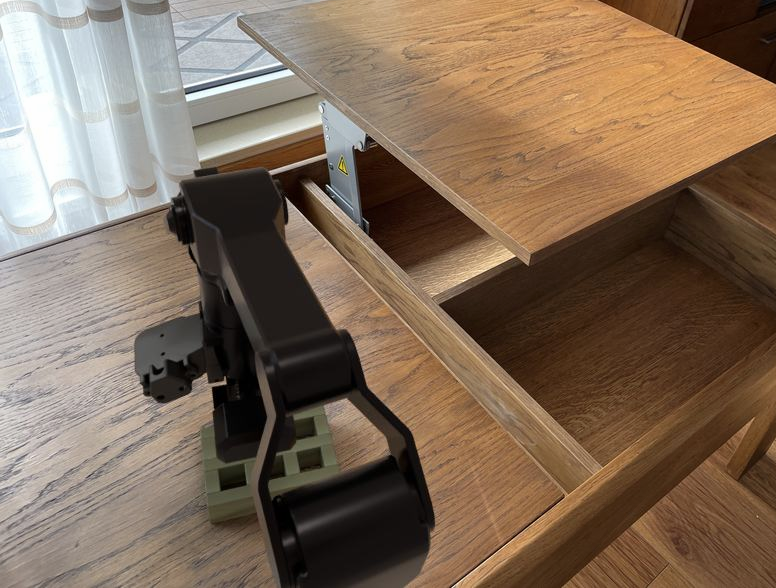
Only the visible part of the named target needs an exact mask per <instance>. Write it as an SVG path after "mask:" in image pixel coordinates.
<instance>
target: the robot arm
mask: <svg viewBox="0 0 776 588" xmlns="http://www.w3.org/2000/svg"><path fill="white" fill-rule="evenodd" d="M178 187H179V192H178V194H177V195H176V196H172V197H170V203H169V204H170V205H169V206H170V207H167V208H168V209H167V210H168V211H167V212H166V213H165V215H164V217H163V218H162V221H163V226H164V230H165V234H166V235H170V234H171V235H172V236H174V238H175V241H176V242H177V243H178V244H179V245H180V246H186V249H187V252H188V254H189V258H190V260H191V261H192V262H193V263H194V264H195V266H196V273H197V280H198V285H199V287H198V288H199V299H200V300H198V301H197V303H198V313H194V314H190V315H187V316H185V315H180V316H177V317H175V318H172V319H169V320H167V321H164V322H162V323H159V324H157V325H154V326H152V327H151V326H150V327H148V328H146V329H144V330H142V331H141V332H139V334H137V335H136V337H135V338H134V342H133V347H134V350H133V351H134V352H133V355H134V358H133V359H134V372H135V374H136V375H137V376H138V377H139V384H140V386H142V395H143V397H147V398H152V399H153V400H154V401H155V402H156V403H158V404H168V403H171V402H173V401H175V400H178V399H181V398H183V397H185V396H188V395H190V394H191V393H192V391H193V382H194V381H196V380H198V379H200V378H201V377H203V376H204V375H206V377H207V384H208V385H210V384H216V383H221V382H224V381H225V384H220V385H213V386H211V396H212V406H213V409H212V412H211V413H212V422H213V426H214V433H215V443H216V450H217V457H218V460H220V461H222V462H224V463H225V464H227V463H232V462H236V461H241V460H246V459H250V458H255V457H256V460H255V464H254V467H253V471H252V474H251V478H250V487H251V491H252V495H253V499H254V503H255V507H256V511H257V513H256V515H257V520H258V524H259V527H260V532H261V536H262V539H263V544H264V548H265V552H266V555H267V559H268V563H269V567H270V570H271V574H272V577H273V580H274V583H275V586H276V588H405V587H406V586H408V585H409V584H410V583H411V582H412V581H413V580H415V579H416V578H417V577H418V576H419V575H420V574H421V572H422V570H423V567H424V565H425V564H426V563H425V562H426V561H427V558H428V556H429V553H430V550H431V545H432V543H431V541H432V537H431V533H432V532H435V528H436V515H435V510H434V505H433V502H432V498H431V494H430V491H429V487H428V484H427V480H426V477H425V472H424V470H423V466H422V462H421V458H420V455H419V451H418V448H417V444H416V441H415V438H414V435H413V433H412V431H411V430H410V429H411V428H409V427H408V426H407V425H406V424H405V423H404V422H403V421H402V420H401V418H399V417H398V416H397V415H396V414H395V413H394V412H393V411H392V410H391V409H390V407H388V406H387V405H386V404H385V403H384V402H383V401H382V400H381V399H380V398H379V397H378V396H377V395H376V394H375V393H374V392H373V391H372V390H371V389H370V387H368V384H367V381H366V376H365V374H364V370H363V366H362V362H361V359H360V355H359V352H358V349H357V346H356V343H355V341H354V339H353V336H352V335H351V334H350V332H349V331H348V330H347V328H339V329H337V328H336V327H335V325H334V324H333V321H332V320H331V319H330V317H329V315H328V313H327V311H326V310H325V308H324V306H323V305H322V303H321V301H320V299H319V298H318V295H317V294H316V292H315V290H314V289H313V287H312V285H311V284H310V281H309V280H308V278H307V276H306V275H305V272H304V271H303V269H302V268H301V266H300V264H299V262H298V261H297V258H296V257H295V255H294V254H293V252H292V250H291V249H290V247H289V245H288V243H287V237H286V226H288V224H289V219H290V218H289V208H288V201H287V196H286V194H285V190H284V188H283V185H282V183H281V181H280V180H279V179H273V177H272V175H271V173H270V171H269V170H268V169H267V168H265V167H264V166H261V167H253V168H248V169H241V170H234V171H230V172H224V173H223V172H222V173H220V172H219V170H218V167H217V166H211V167H205V168H200V169H199V168H198V169H194V170H193V177H192V178H186V179H185V178H184V179H180V180H179V182H178ZM346 399H347V400H348V401H349V402H350V403H351V404H352V405H353V407H355V408H356V409H357V410H358V411H359V412H360V413H361V414H362V415H363V416H364V417H365V418H366V419H367V420H368V421H369V422H370V423H371V424H372V425H373V426H374V427H375V428H376V429H377V430H378V431H379V432H380V433H381V434H382V435H383V436H384V437H385V440H386V442H387V446H388V449H389V453H390V454H388V455H385V456H382V457H380V458H379V457H378V458H376V459H374V460H372V461H368V462H366V463H363V464H360V465H357V466H355V467H351V468H349V469H346V470H344V471H340V473H338V474H335V475H332V476H329V477H327V478H324V479H321V480H318V481H315V482H313V483H310V484H307V485H304V486H302V487H299V488H296V489H293V490H291V491H288V492H285V493H282V494H279V495H277V496H274V498H273V500H271V496H270V492H269V488H268V483H269V480H271V479H270V478H271V476H272V475H271V472H272V468H273V465H274V461H275V457H276V454H277V453H279V452H283V451H288V450H291V449H292V448H293V446H294V445H295V444H296V440H297V437H296V427H295V422H294V417H293V415H295V414H298V413H301V412H304V411H308V410H311V409H314V408H317V407H320V406H323V405H324V406H326V405H330V404H333V403H337V402H339V401H343V400H346Z"/></svg>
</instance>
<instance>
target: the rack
mask: <svg viewBox="0 0 776 588" xmlns="http://www.w3.org/2000/svg"><path fill="white" fill-rule="evenodd" d="M293 417H294V422H295V427H296V438H302V437H306V436H310V435H313V436H311V437H306V438H302V439H296V444H295V445H294V446H293V448H292V449H291V450H288V451H283V452H279V453H277V454H276V457H275V461H274V465H273V468H272V472H271V475H270V476H272V475H276V474H281V473H283V475H284V476H282V477H278V478H273V479H269V483H268V488H269V492H270V496H271V500H273V498H274V496H277V495H279V494H282V493H285V492H288V491H291V490H293V489H296V488H299V487H302V486H304V485H307V484H310V483H313V482H315V481H318V480H321V479H324V478H327V477H329V476H332V475H335V474H338V473H340V472H341V469H340V467H339V460H338V457H337V453H336V450H335V445H334V442H333V438H332V434H331V430H330V424H329V421H328V416H327V413H326V409H325V405H323V406H320V407H317V408H314V409H311V410H308V411H304V412H301V413H298V414H295V415H293ZM199 434H200V435H199V437H200V446H201V447H200V448H201V456H202V465H203V466H202V467H203V468H202V469H203V477H204V489H205V497H206V499H205V500H206V508H207V513H208V520H209V524H210V525H213V524H216V523H217V524H218V523H221V522H225V521H229V520H233V519H237V518H242V517H246V516H249V515H253V514H257V511H256V507H255V503H254V499H253V495H252V491H251V487H250V478H251V474H252V471H253V467H254V464H255V460H256V457H255V458H250V459H246V460H241V461H236V462H232V463H227V464H225V463H224V462H222V461H220V460H218V457H217V450H216V443H215V433H214V425H211V426H206V427H201V428H199ZM316 465H320V468H317V469H313V470H308V471H303V472H301V469H303V468H308V467H312V466H316ZM241 482H245V483H246V484H245V485H243V486H239V487H234V488H229V489H225V490H222V487H225V486H227V485H228V486H229V485H233V484H237V483H241Z"/></svg>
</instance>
